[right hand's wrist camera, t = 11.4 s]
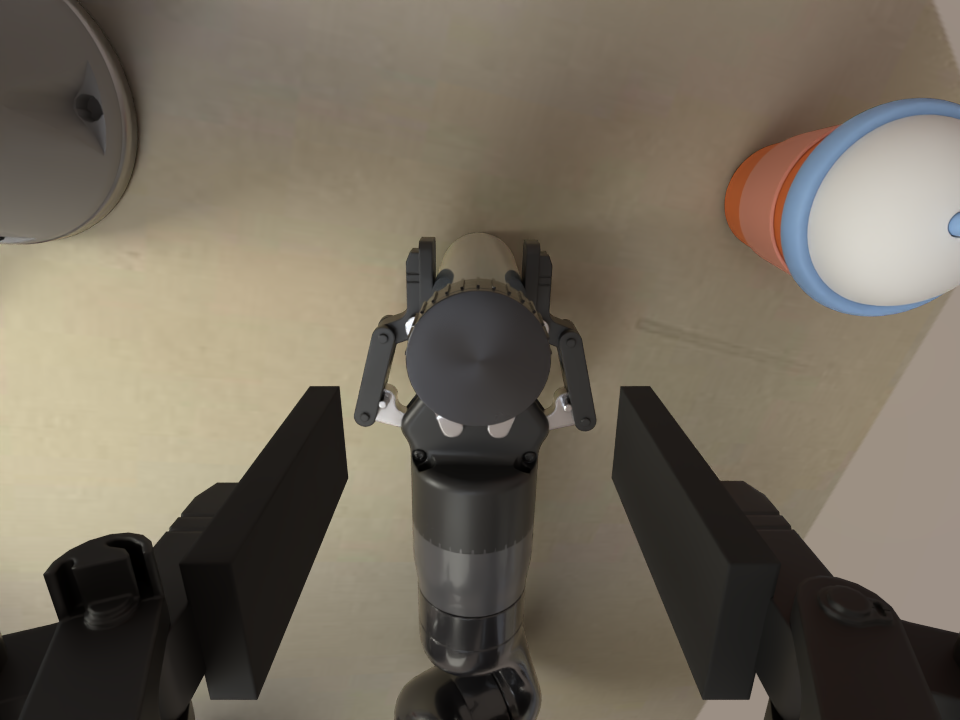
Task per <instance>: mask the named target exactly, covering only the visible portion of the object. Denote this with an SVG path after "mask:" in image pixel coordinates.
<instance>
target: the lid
mask: <svg viewBox="0 0 960 720" xmlns="http://www.w3.org/2000/svg"><path fill="white" fill-rule="evenodd" d="M544 325H545V324H544V321H543V319H542V316H541V314H540V312H539V313H537V311H536V309H535V307H534V304H533V302H532V301H529V300H528V299H527V298H526V297H525V296H524V295H523V292H522V291H521V290H520V291H517V290H516V289H514V288H512V287H510V284H509V283H506V284H504V283H501V282H499V281H495V279H494V278H492V280H490V279H480V277H477V279H468V280H464V278H463V279H461V281H459V282H455V283H453V284H450V283H448V284H447V286H446V287H444V288H443V289H441V290H440V291H438V292H437V291H435V292H434V294H433V296H432V297H431V298H430V299H429V300H428V301H427V302H426V301H424V303H423V305H422V308H421V311H420V312H419V314H418V313H416V316H415V318H414V321H413V323H412V327H411V329H410V332H409V334H408V337H407V340H408V344H407V349H406V351H405V355H406V367H407V372H408V377H409V379H410V382H411V385H412V387H413V388H414V390H415V392H416V394H417V395H418V396H419V398H420V399H421V400H422V401H423V403H424V404H425V405H426V406H427V407H428V408H430V409H431V410H432V411H433V412H435V413H436V414H438V415H439V416H441V417H443V418H445V419H447V420H449V421H452V422H455V423H458V424H462V425H467V426H489V425H495V424H499V423H502V422H505V421H507V420H510V419H512V418H514V417H516V416H517V415H519V414H521V413H522V412H523V411H525V410H526V409H527V408H528V407H529V406H530V405H531V404H532V403H533V402H534V401H535V400H536V399H537V398H538V396H539V395H540V393H541V392H542V390H543V388H544V386H545V384H546V381H547V379H548V375H549V372H550V365H551V354H552V352H551V349H550V345H549V341H548V340H550V337H549V335H548V332H547V329H546V327H545V326H544Z"/></svg>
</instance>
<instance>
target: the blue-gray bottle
mask: <svg viewBox="0 0 960 720" xmlns="http://www.w3.org/2000/svg"><path fill="white" fill-rule="evenodd" d="M477 277H480V279H490V280H492V278H494V279H495V281H499V282H501V283H504V284H506V283H509V284H510V287H512V288H514V289H516V290H517V291H520V290H521V291H522V292H523V295H524V296H525V297H526V298H527V299H528V297H527V294H526V291H525V288H524V285H523V282H522V279H521V277H520V274H519V271H518V268H517V265H516V262H515V259H514V256H513V254H512V252H511V250H510V249H509V247H508V246H507V245H506V244H505V243H504V242H503V241H502V240H500V239H499V238H497V237H496V236H493V235H491V234H487V233H481V232H478V233H470V234H466V235H464V236H462V237H460V238H458V239H457V240H455V241H454V242H453V243H452V244H451V245H450V246H449V248H448V249H447V251H446V253H445V255H444V257H443V260H442V263H441V266H440V269H439V271H438V274H437V277H436V280H435V283H434V286H433V289H432V291H431V294H430V297H429V299H430V298H431V297H432V296H433V294H434V292H435V291H437V292H438V291H440V290H441V289H443V288H444V287H446V286H447V284H448V283H450V284H453V283H455V282H459V281H461V279H463V278H464V280H468V279H477Z"/></svg>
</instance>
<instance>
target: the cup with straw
mask: <svg viewBox="0 0 960 720" xmlns="http://www.w3.org/2000/svg"><path fill="white" fill-rule="evenodd" d="M725 215H726V219H727V222H728V225H729V227H730V229H731V230H732V232H733V233H734V235H735V236H736V237H737V238H738V239H739V240H741V241H742V242H743V243H745V244H746V245H748V246H749V247H751V248H752V250H753V251H754V252H755V253H756V254H758V255H759V256H760V257H762V258H763V259H765V260H766V261H768V262H770V263H771V264H773V265H775V266H776V267H778V268H780V269H781V270H783V271H785V272H786V273H788V274H790V275H791V276H792V277H793V278H794V280H795V281H796V283H797V284H798V285H799V286H800V288H801V289H802V290H803V291H804V292H805V293H806V294H807V295H809V296H810V297H811V298H812V299H814V300H815V301H817V302H819V303H820V304H822V305H824V306H826V307H828V308H830V309H833V310H835V311H838V312H841V313H846V314H850V315H857V316H885V315H891V314H897V313H901V312H905V311H908V310H911V309H914V308H917V307H919V306H921V305H924V304H926V303H928V302H930V301H932V300H934V299H936V298H937V297H939V296H941V295H942V294H944V293H946V292H948V291H950V290H952V289H953V288H955V287H957V286H959V285H960V105H959V104H956V103H953V102H949V101H945V100H940V99H932V98H912V99H903V100H897V101H892V102H889V103H885V104H882V105H879V106H876V107H873V108H871V109H868V110H866V111H864V112H862V113H860V114H858V115H856V116H854V117H853V118H851V119H849V120H848V121H846V122H845V123H843V124H840V125H836V126H831V127H827V128H823V129H819V130H815V131H811V132H807V133H803V134H800V135H796V136H794V137H791V138H789V139H787V140H785V141H783V142H780V143H776V144H773V145H770V146H767V147H764V148H762V149H760V150H758V151H757V152H755V153H754V154H752V155H751V156H750V157H748V158H747V159H746V160H745V161H744V162H743V163H742V164H741V165H740V166H739V168H738V169H737V170H736V172H735V173H734V175H733V177H732V178H731V181H730V183H729V185H728V188H727V191H726V196H725Z"/></svg>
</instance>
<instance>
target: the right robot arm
mask: <svg viewBox="0 0 960 720" xmlns="http://www.w3.org/2000/svg"><path fill="white" fill-rule="evenodd" d="M136 151H137V121H136V112H135V107H134V102H133V98H132V94H131V91H130V87H129V84H128V81H127V78H126V76H125V73H124V71H123V68H122V66H121V64H120V62H119V60H118V58H117V55H116V54H115V52H114V50H113V48H112V47H111V45H110V43H109V41H108V40H107V38H106V37H105V35H104V34H103V32H102V31H101V29H100V28H99V26H98V25H97V24H96V23H95V21H94V20H93V19H92V18H91V16H90V15H89V14H88V13H87V11H86V10H85V9H84V8H83V7H82V6H81V5H80V4H79V3H78V2H77V1H76V0H0V244H34V243H42V242H47V241H52V240H57V239H62V238H66V237H70V236H73V235H76V234H78V233H80V232H83V231H85V230H87V229H89V228H90V227H92V226H93V225H95V224H97V223H98V222H99V221H100V220H102V219H103V218H104V217H105V216H106V215H107V214H108V213H109V212H110V211H111V210H112V209H113V208H114V207H115V205H116V204H117V203H118V201H119V200H120V198H121V197H122V195H123V193H124V191H125V190H126V187H127V185H128V183H129V180H130V178H131V175H132V171H133V168H134V164H135V158H136ZM347 480H348V470H347V460H346V450H345V439H344V429H343V418H342V408H341V398H340V387H339V386H310V387H309V388H308V390H307V391H306V392H305V394H304V395H303V396H302V398H301V399H300V400H299V402H298V403H297V404H296V406H295V407H294V408H293V410H292V411H291V413H290V414H289V415H288V417H287V418H286V419H285V421H284V422H283V423H282V425H281V426H280V427H279V429H278V430H277V431H276V433H275V434H274V435H273V437H272V438H271V440H270V441H269V442H268V444H267V445H266V446H265V448H264V449H263V450H262V452H261V453H260V454H259V456H258V457H257V458H256V460H255V461H254V462H253V464H252V465H251V467H250V468H249V469H248V471H247V472H246V473H245V475H244V476H243V477H242V479H241V480H240V481H239V483H216V484H215V485H213V486H211V487H210V488H208V489H207V490H205V491H204V492H202V493H201V494H199V495H198V496H196V497H195V498H194V499H193V500H192V502H191V503H190V504H189V505H188V506H187V508H186V509H185V510H184V511H183V512H182V514H181V517H178V518H177V520H176V521H175V522H174V523H173V524H172V526H171V527H170V528H169V532H166V533H165V534H164V535H163V536H162V537H161V539H160V540H159V541H158V542H157V543H156V545H155V546H154V547H153V546H152V542H151V541H150V540H149V539H148V538H146V537H145V536H144V535H140V534H134V533H119V534H110V535H106V536H103V537H100V538H96V539H93V540H89V541H87V542H85V543H83V544H81V545H79V546H77V547H75V548H73V549H71V550H69V551H68V552H66V553H65V554H63V555H62V556H61V557H59V558H58V559H57V560H55V561H54V562H53V563H52V564H51V565H50V567H49V568H48V569H47V570H46V572H45V573H44V574H43V575H44V578H45V581H46V584H47V587H48V590H49V593H50V596H51V599H52V602H53V605H54V608H55V610H56V613H57V616H58V619H59V622H58V623H54V624H51V625H46V626H42V627H38V628H33V629H29V630H24V631H20V632H16V633H11V634H7V635H3V636H2V635H1V633H0V720H195V716H194V709H193V705H192V701H191V699H192V697H193V695H194V693H195V691H196V689H197V687H198V686H199V684H200V682H201V680H202V678H203V676H204V674H205V678H206V682H207V687H208V691H209V695H210V699H211V700H257V699H258V697H259V694H260V692H261V689H262V687H263V684H264V682H265V680H266V677H267V675H268V672H269V670H270V667H271V665H272V663H273V660H274V658H275V655H276V653H277V650H278V648H279V645H280V643H281V641H282V638H283V636H284V633H285V631H286V628H287V626H288V624H289V621H290V619H291V616H292V614H293V611H294V609H295V606H296V604H297V602H298V599H299V597H300V594H301V592H302V589H303V587H304V585H305V582H306V580H307V577H308V575H309V572H310V570H311V567H312V565H313V563H314V560H315V558H316V555H317V553H318V550H319V548H320V546H321V543H322V541H323V538H324V536H325V533H326V531H327V528H328V526H329V524H330V521H331V519H332V516H333V514H334V511H335V509H336V507H337V504H338V502H339V499H340V497H341V494H342V492H343V489H344V487H345V485H346V482H347ZM612 480H613V482H614V485H615V487H616V489H617V492H618V494H619V497H620V499H621V502H622V504H623V507H624V509H625V511H626V514H627V516H628V519H629V521H630V524H631V526H632V528H633V531H634V533H635V536H636V538H637V541H638V543H639V546H640V548H641V550H642V553H643V555H644V558H645V560H646V563H647V565H648V567H649V570H650V572H651V575H652V577H653V580H654V582H655V585H656V587H657V589H658V592H659V594H660V597H661V599H662V602H663V604H664V606H665V609H666V611H667V614H668V616H669V619H670V621H671V624H672V626H673V628H674V631H675V633H676V636H677V638H678V641H679V643H680V645H681V648H682V650H683V653H684V655H685V658H686V660H687V663H688V665H689V667H690V670H691V672H692V675H693V677H694V680H695V682H696V684H697V687H698V689H699V692H700V694H701V697H702V699H703V700H749V699H750V695H751V691H752V687H753V682H754V678H755V674H756V673H757V675H758V677H759V679H760V681H761V683H762V685H763V687H764V688H765V690H766V692H767V694H768V696H769V701H768V705H767V709H766V713H765V717H764V720H960V633H955V632H950V631H946V630H942V629H937V628H933V627H928V626H924V625H920V624H915V623H911V622H907V621H904V620H901V619H900V618H899V617H898V615H897V614H896V612H895V611H894V610H893V608H892V607H891V606H890V605H889V604H888V603H886V602H885V601H884V600H883V599H882V598H880V597H879V596H878V595H877V594H875V593H873V592H872V591H870V590H868V589H866V588H864V587H862V586H860V585H859V584H856V583H853V582H850V581H847V580H844V579H841V578H838V577H833V575H832V574H831V573H830V572H829V571H828V569H827V568H826V567H825V566H824V565H823V564H822V562H821V561H820V560H819V559H818V558H817V556H816V555H815V554H814V553H813V552H812V550H811V549H810V548H809V547H808V546H807V545H806V543H805V542H804V541H803V540H802V539H801V537H800V536H799V535H798V534H797V533H796V531H795V530H792V529H791V526H790V524H789V523H788V522H787V521H786V520H785V518H784V517H783V516H782V515H779V511H778V510H777V509H776V508H775V506H774V505H773V504H772V503H771V502H770V501H769V499H768V498H767V497H766V496H765V495H764V494H762V493H761V492H759V491H758V490H756V489H755V488H753V487H752V486H750V485H748V484H747V483H745V482H744V481H720V480H719V479H718V477H717V476H716V475H715V473H714V472H713V471H712V469H711V468H710V467H709V465H708V464H707V462H706V461H705V460H704V458H703V457H702V456H701V454H700V453H699V452H698V450H697V449H696V448H695V446H694V445H693V444H692V442H691V441H690V440H689V438H688V437H687V435H686V434H685V433H684V431H683V430H682V429H681V427H680V426H679V425H678V423H677V422H676V421H675V419H674V418H673V417H672V415H671V414H670V413H669V411H668V410H667V408H666V407H665V406H664V404H663V403H662V402H661V400H660V399H659V398H658V396H657V395H656V394H655V392H654V391H653V390H652V388H651V387H650V386H621V387H620V398H619V408H618V418H617V429H616V439H615V450H614V460H613V470H612Z"/></svg>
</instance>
